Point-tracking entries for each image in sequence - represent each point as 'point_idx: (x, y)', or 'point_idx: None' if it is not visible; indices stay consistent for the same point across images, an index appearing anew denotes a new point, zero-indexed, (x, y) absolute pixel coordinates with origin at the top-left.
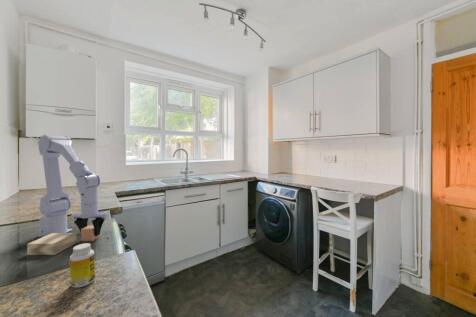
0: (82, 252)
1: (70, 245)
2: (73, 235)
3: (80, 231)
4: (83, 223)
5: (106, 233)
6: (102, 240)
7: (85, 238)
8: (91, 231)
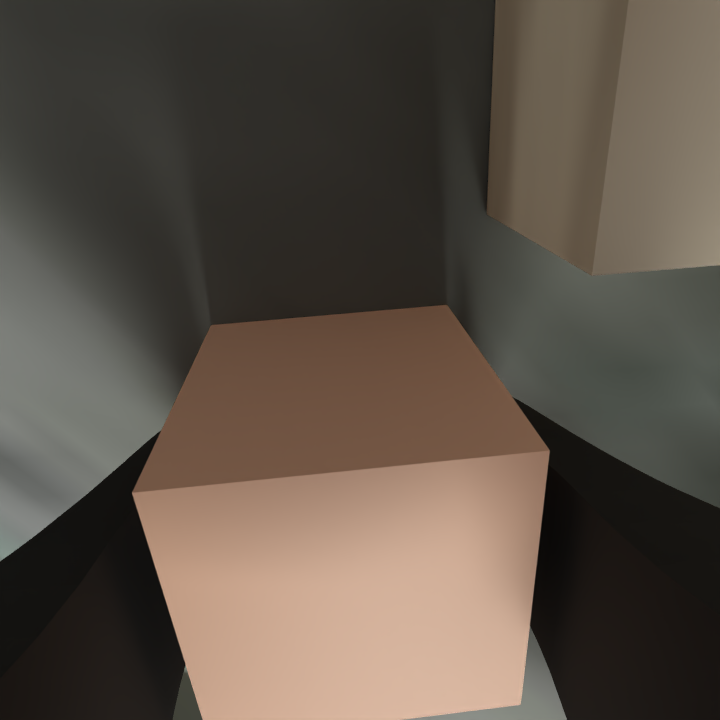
0: None
1: (498, 14)
2: (588, 146)
3: (572, 441)
4: (639, 708)
5: None
6: (5, 359)
7: (364, 330)
8: (172, 435)
